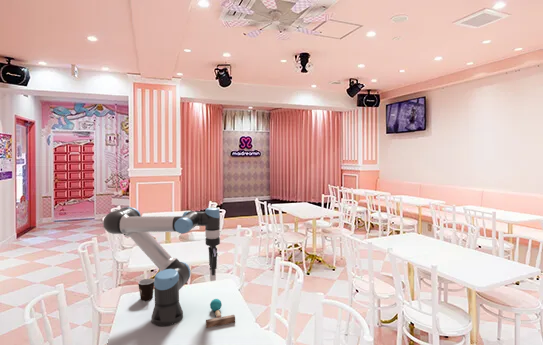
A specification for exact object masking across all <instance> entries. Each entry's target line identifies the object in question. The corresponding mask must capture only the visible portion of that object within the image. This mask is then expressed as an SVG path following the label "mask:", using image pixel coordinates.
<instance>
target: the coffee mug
mask: <svg viewBox="0 0 543 345" xmlns="http://www.w3.org/2000/svg"><path fill="white" fill-rule="evenodd" d="M137 283H138V290H139V296H140V297H139V298H140V301H141V302H148V301H151V300H152V299H153V297H154V278H143V279H140V280H139V281H138V282H137Z"/></svg>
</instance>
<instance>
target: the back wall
mask: <svg viewBox="0 0 543 345" xmlns="http://www.w3.org/2000/svg"><path fill="white" fill-rule="evenodd" d="M235 323H236V315H235V314H231V315H225V316H221V317H219V318H216V317H214V318H209V319H205V327H206V329H210V328H214V327H219V326H224V325H225V326H226V325H229V324H235Z"/></svg>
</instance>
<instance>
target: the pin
mask: <svg viewBox="0 0 543 345" xmlns="http://www.w3.org/2000/svg"><path fill="white" fill-rule="evenodd" d="M214 314H215V318H219V317H222V315H221V314H222V313H221V312H220V309H219V310H216V311H214Z"/></svg>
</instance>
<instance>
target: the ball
mask: <svg viewBox="0 0 543 345" xmlns="http://www.w3.org/2000/svg"><path fill="white" fill-rule="evenodd" d="M209 306H210V309H211V310H212V311H214V312H215V311H216V310H219V311H220V310H221V308H222V301H221V299H218V298H213V299H212V300H211V302H210V303H209Z"/></svg>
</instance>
